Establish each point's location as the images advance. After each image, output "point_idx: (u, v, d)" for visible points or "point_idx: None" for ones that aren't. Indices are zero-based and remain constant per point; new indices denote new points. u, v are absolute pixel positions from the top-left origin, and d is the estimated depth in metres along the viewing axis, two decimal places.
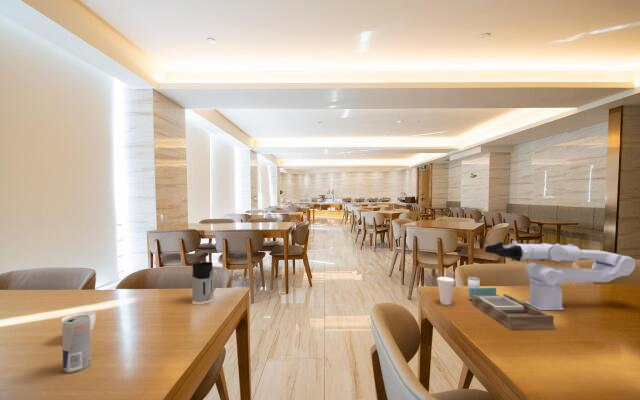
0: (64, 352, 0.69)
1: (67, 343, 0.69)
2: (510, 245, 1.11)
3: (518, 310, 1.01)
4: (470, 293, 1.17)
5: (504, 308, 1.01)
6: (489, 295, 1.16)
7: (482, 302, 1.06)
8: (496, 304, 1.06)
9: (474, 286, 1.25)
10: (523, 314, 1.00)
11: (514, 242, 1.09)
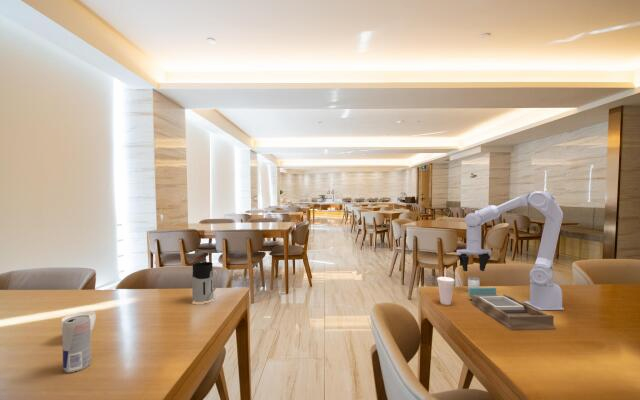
0: (64, 352, 0.69)
1: (67, 343, 0.69)
2: None
3: (518, 310, 1.01)
4: (470, 293, 1.17)
5: (504, 308, 1.01)
6: (489, 295, 1.16)
7: (482, 302, 1.06)
8: (496, 304, 1.06)
9: (474, 286, 1.25)
10: (523, 314, 1.00)
11: None
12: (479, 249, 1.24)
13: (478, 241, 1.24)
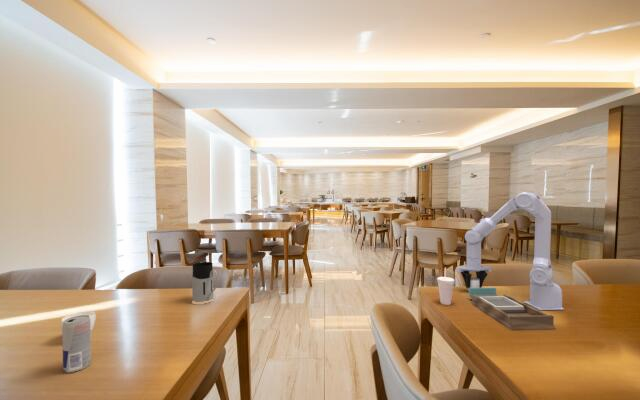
0: (64, 352, 0.69)
1: (67, 343, 0.69)
2: None
3: (518, 310, 1.01)
4: (470, 293, 1.17)
5: (504, 308, 1.01)
6: (489, 295, 1.16)
7: (482, 302, 1.06)
8: (496, 304, 1.06)
9: (474, 286, 1.25)
10: (523, 314, 1.00)
11: None
12: (479, 266, 1.24)
13: (478, 258, 1.24)
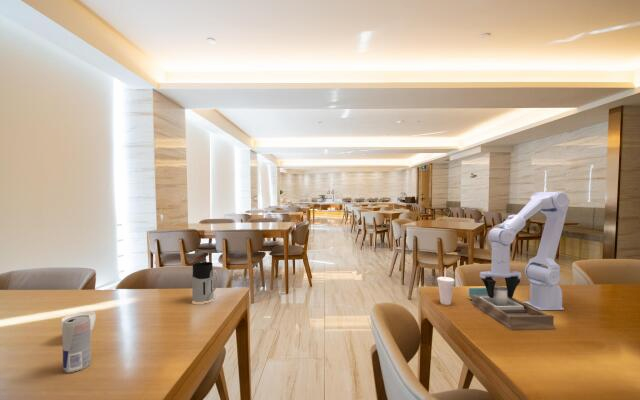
0: (64, 352, 0.69)
1: (67, 343, 0.69)
2: None
3: (518, 310, 1.01)
4: (470, 293, 1.17)
5: (504, 308, 1.01)
6: None
7: (482, 302, 1.06)
8: None
9: (501, 297, 1.05)
10: (523, 314, 1.00)
11: None
12: (507, 272, 1.04)
13: (506, 262, 1.04)
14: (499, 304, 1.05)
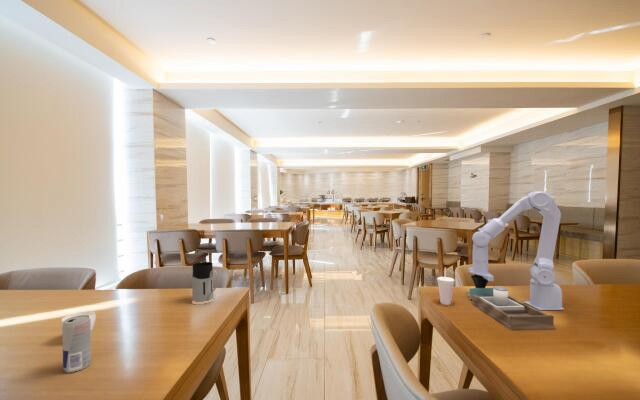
0: (64, 352, 0.69)
1: (67, 343, 0.69)
2: None
3: (519, 310, 1.01)
4: (470, 293, 1.17)
5: (505, 309, 1.01)
6: (489, 295, 1.15)
7: (482, 302, 1.06)
8: None
9: (501, 298, 1.04)
10: (523, 314, 1.00)
11: None
12: None
13: None
14: (500, 304, 1.05)
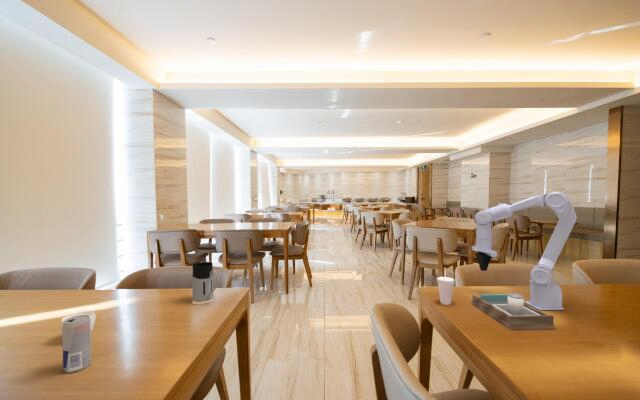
0: (64, 352, 0.69)
1: (67, 343, 0.69)
2: None
3: None
4: None
5: None
6: (503, 302, 1.08)
7: (482, 302, 1.06)
8: None
9: (517, 306, 0.97)
10: None
11: (476, 250, 1.23)
12: None
13: None
14: (515, 313, 0.97)
